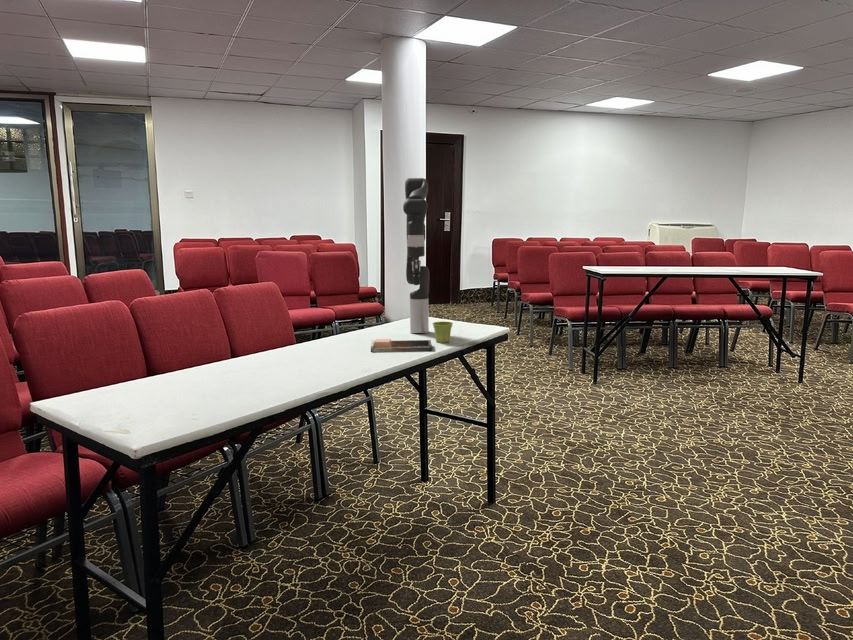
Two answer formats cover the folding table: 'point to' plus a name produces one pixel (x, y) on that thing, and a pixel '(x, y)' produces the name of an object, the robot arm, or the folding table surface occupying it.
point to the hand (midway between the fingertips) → (416, 284)
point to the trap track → (411, 343)
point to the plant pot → (442, 331)
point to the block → (382, 343)
